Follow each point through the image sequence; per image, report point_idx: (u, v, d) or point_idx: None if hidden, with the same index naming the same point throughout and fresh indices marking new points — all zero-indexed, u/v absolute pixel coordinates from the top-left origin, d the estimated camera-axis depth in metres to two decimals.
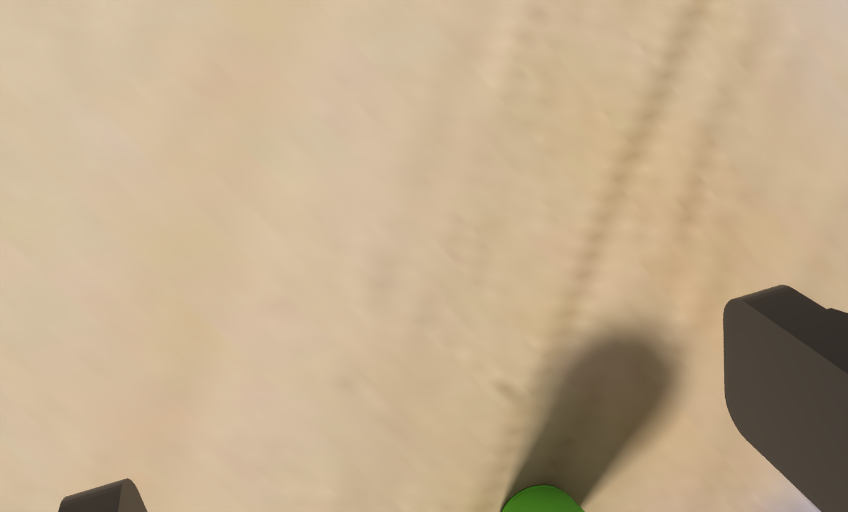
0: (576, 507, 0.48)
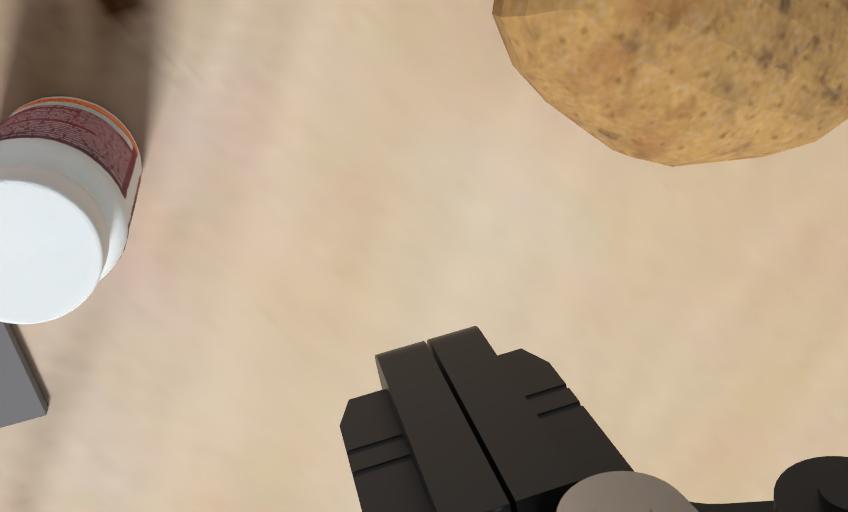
0: None
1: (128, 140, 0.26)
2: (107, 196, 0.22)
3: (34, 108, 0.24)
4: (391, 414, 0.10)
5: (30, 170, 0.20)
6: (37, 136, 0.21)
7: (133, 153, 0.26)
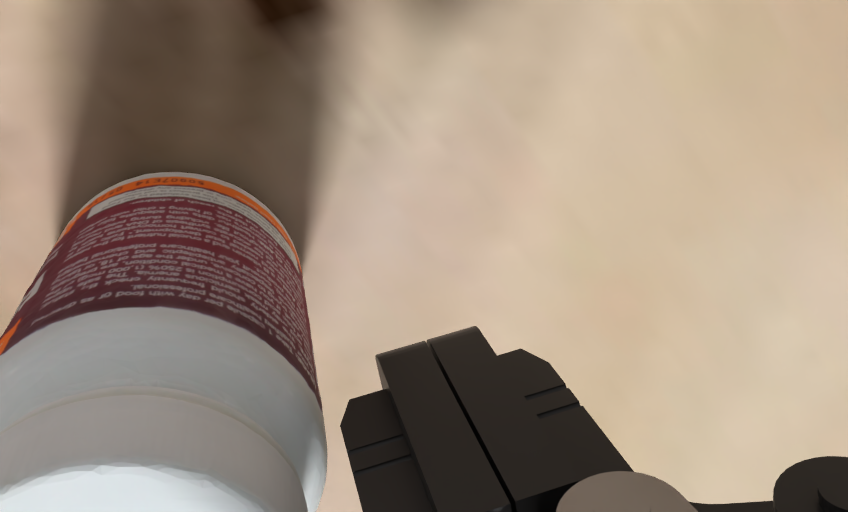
0: None
1: (291, 253, 0.15)
2: (301, 428, 0.10)
3: (134, 204, 0.13)
4: (392, 414, 0.10)
5: (155, 416, 0.08)
6: (158, 301, 0.10)
7: (300, 277, 0.15)
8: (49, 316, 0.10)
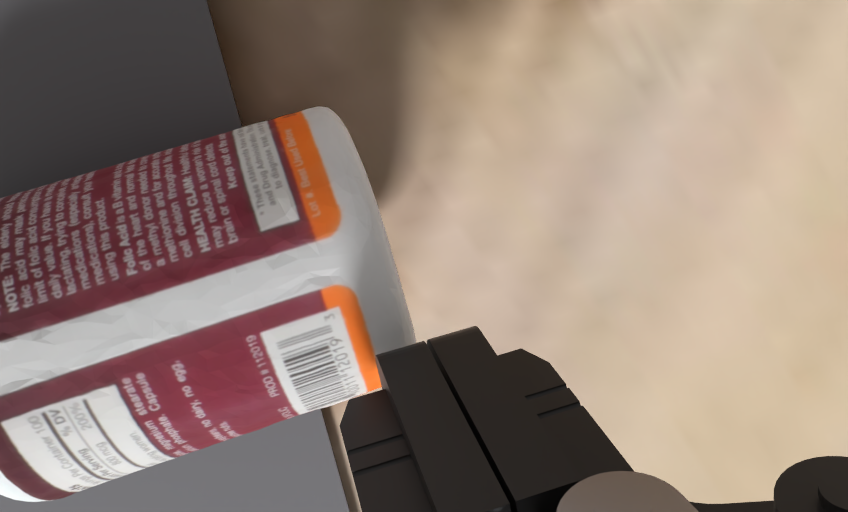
0: None
1: (279, 204, 0.11)
2: None
3: None
4: (391, 414, 0.10)
5: None
6: None
7: (268, 237, 0.11)
8: None
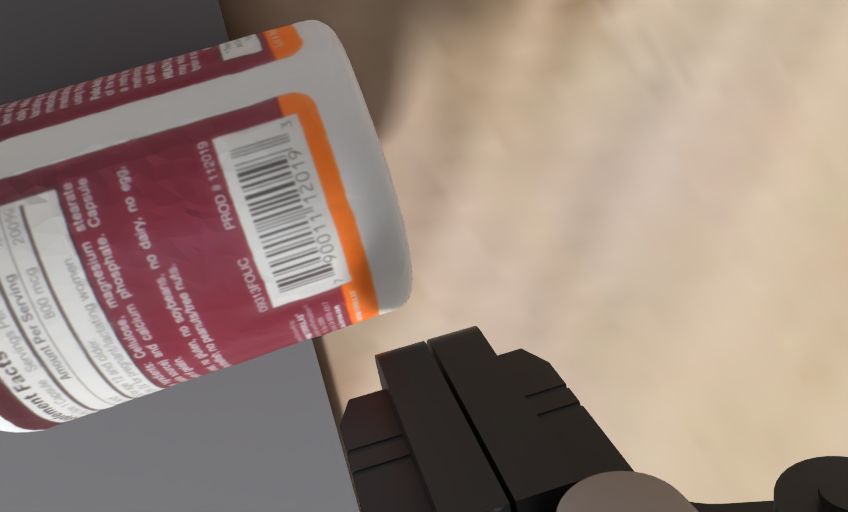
0: None
1: (245, 45, 0.11)
2: None
3: None
4: (391, 414, 0.10)
5: None
6: None
7: (230, 63, 0.11)
8: None
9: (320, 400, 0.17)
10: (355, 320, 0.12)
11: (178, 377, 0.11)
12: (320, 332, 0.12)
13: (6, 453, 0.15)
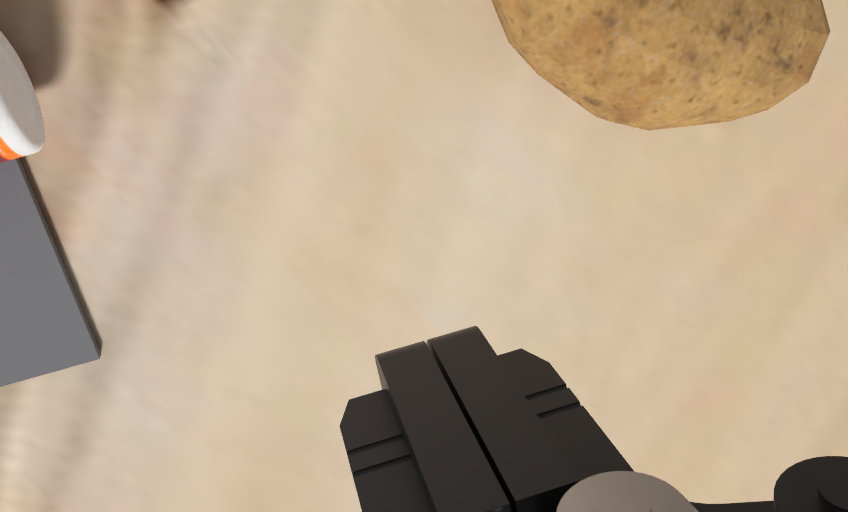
0: None
1: None
2: None
3: None
4: (391, 414, 0.10)
5: None
6: None
7: None
8: None
9: (40, 229, 0.31)
10: None
11: None
12: None
13: None
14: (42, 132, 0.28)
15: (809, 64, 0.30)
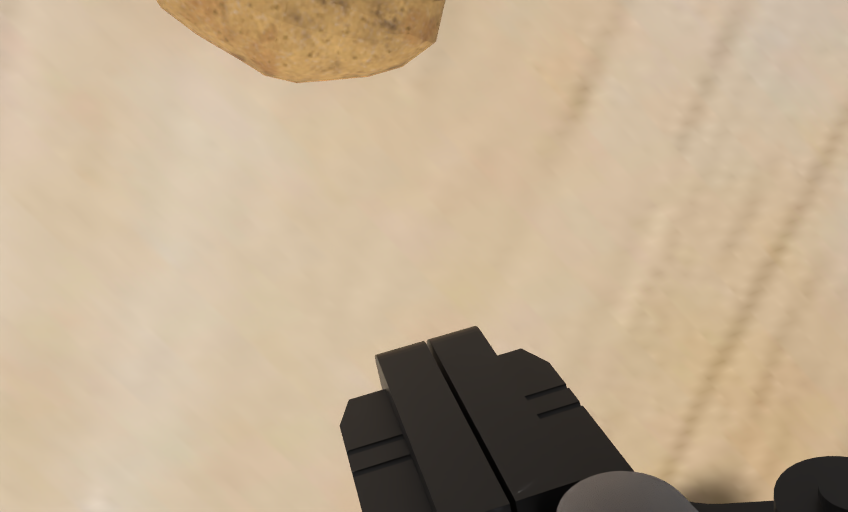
0: None
1: None
2: None
3: None
4: (391, 414, 0.10)
5: None
6: None
7: None
8: None
9: None
10: None
11: None
12: None
13: None
14: None
15: (419, 26, 0.35)
